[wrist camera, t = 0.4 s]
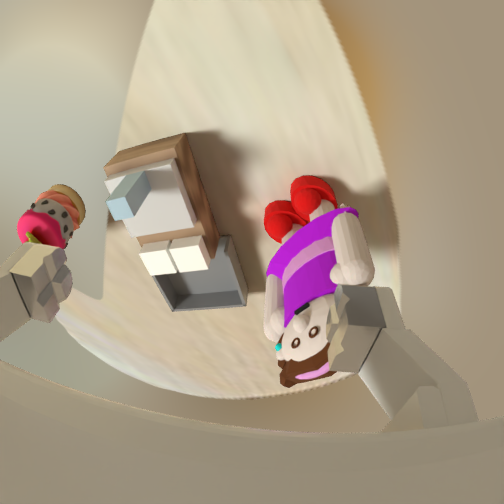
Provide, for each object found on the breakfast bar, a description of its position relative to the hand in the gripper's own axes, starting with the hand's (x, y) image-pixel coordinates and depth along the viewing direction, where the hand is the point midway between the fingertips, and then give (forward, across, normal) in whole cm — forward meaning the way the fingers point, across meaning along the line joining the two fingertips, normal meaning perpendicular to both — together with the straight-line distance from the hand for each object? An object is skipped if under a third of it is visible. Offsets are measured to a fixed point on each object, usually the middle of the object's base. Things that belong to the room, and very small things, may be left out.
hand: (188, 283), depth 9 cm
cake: (+41, +37, +21) cm, 60 cm away
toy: (+42, -7, +17) cm, 46 cm away
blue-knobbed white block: (+35, +15, +15) cm, 41 cm away
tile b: (+36, +15, +26) cm, 47 cm away
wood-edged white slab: (+41, +14, +17) cm, 47 cm away
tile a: (+36, +10, +24) cm, 45 cm away
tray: (+43, +10, +34) cm, 56 cm away
